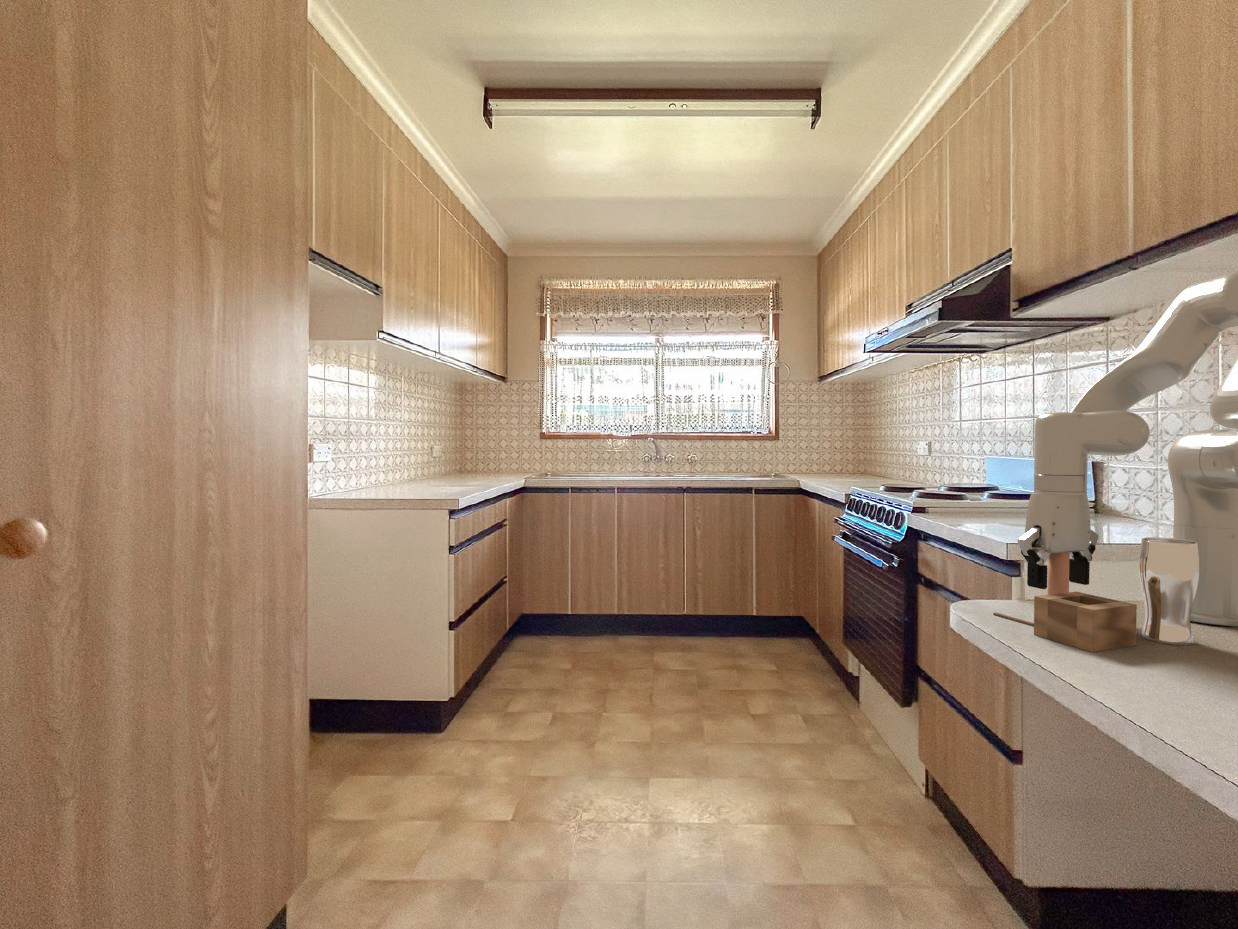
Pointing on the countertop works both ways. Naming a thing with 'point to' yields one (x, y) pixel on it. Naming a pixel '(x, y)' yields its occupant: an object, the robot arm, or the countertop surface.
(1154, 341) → the robot arm
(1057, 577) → the dowel
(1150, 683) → the countertop surface
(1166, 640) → the beer glass
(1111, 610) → the wooden block with hole
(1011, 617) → the brown thin square rod
